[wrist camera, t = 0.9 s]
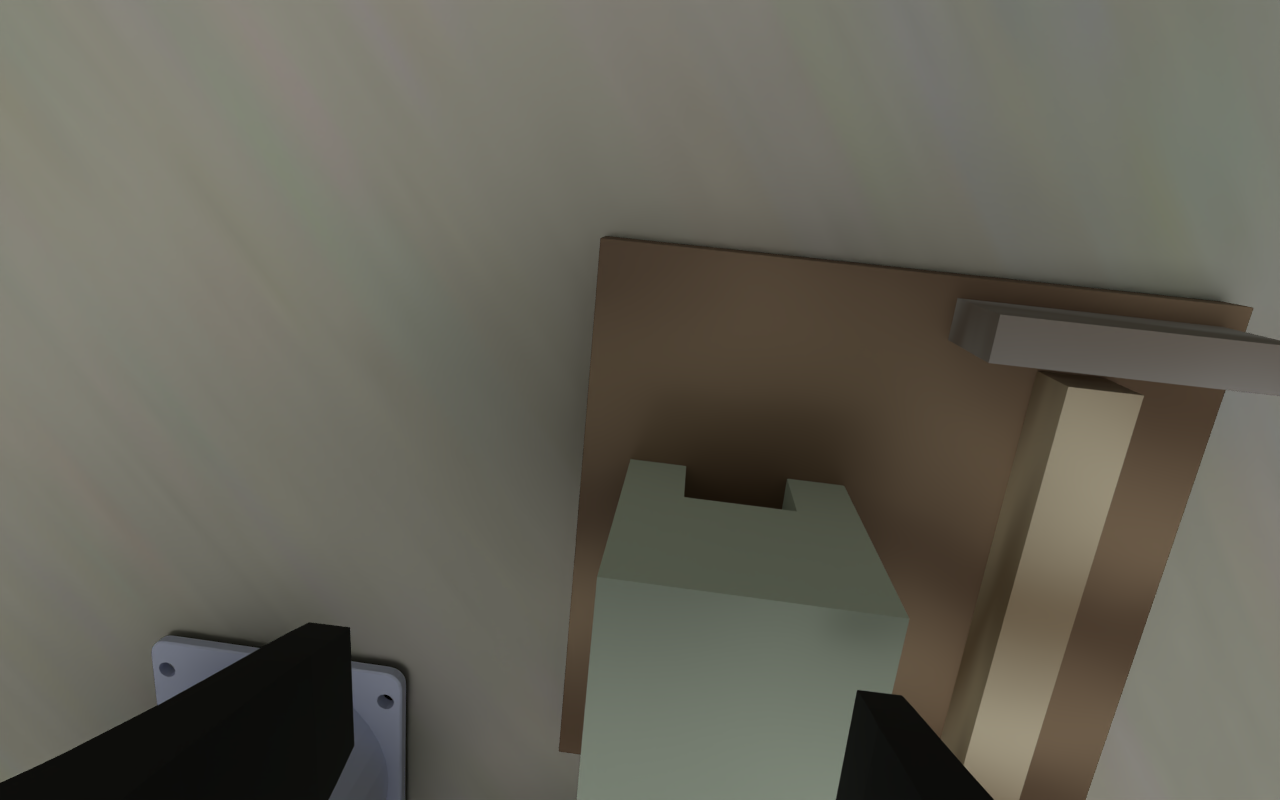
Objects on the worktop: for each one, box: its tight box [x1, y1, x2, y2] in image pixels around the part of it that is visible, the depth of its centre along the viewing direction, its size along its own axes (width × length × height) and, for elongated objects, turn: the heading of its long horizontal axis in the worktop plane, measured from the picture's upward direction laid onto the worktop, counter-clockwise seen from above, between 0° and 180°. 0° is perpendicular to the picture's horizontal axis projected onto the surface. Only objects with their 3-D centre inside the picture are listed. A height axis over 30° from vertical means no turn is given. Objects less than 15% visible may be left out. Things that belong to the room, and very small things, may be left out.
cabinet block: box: [577, 459, 909, 800], centre depth 16 cm, size 8×6×6 cm
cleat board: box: [559, 236, 1280, 800], centre depth 18 cm, size 15×15×4 cm
